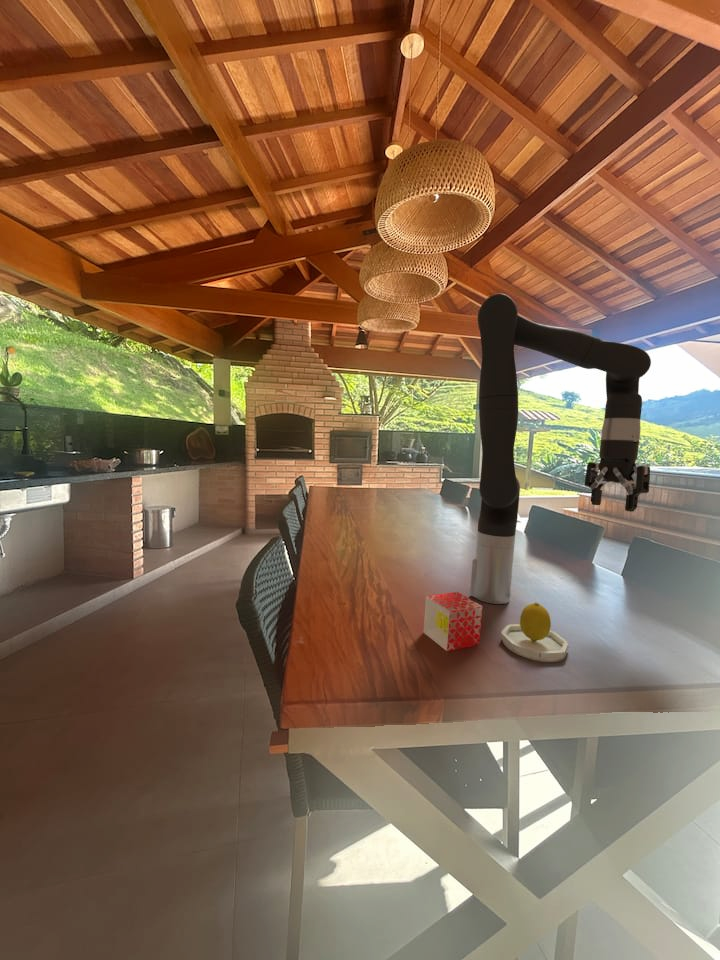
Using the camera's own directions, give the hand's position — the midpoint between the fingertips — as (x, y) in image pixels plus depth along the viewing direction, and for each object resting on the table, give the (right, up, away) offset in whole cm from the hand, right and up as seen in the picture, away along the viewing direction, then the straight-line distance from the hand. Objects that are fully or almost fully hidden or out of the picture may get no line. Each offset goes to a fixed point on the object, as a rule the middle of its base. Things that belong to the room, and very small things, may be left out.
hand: (612, 508), depth 94 cm
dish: (-25, -26, -15) cm, 39 cm away
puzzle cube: (-41, -26, -13) cm, 50 cm away
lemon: (-25, -26, -15) cm, 39 cm away
